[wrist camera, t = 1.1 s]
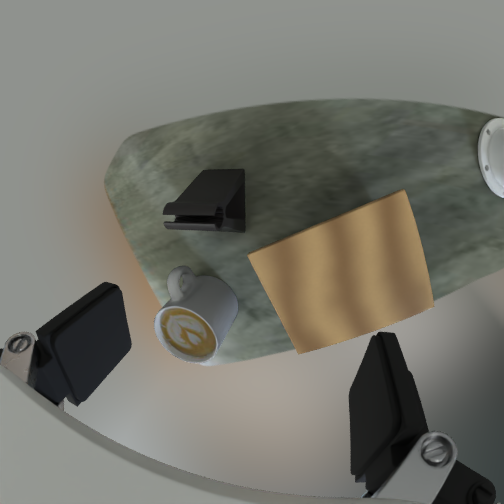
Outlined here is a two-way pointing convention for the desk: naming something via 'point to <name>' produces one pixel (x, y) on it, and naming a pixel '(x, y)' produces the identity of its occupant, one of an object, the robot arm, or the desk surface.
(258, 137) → the desk surface
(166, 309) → the coffee mug
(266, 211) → the desk surface
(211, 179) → the phone stand
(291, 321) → the oak board
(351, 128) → the desk surface
